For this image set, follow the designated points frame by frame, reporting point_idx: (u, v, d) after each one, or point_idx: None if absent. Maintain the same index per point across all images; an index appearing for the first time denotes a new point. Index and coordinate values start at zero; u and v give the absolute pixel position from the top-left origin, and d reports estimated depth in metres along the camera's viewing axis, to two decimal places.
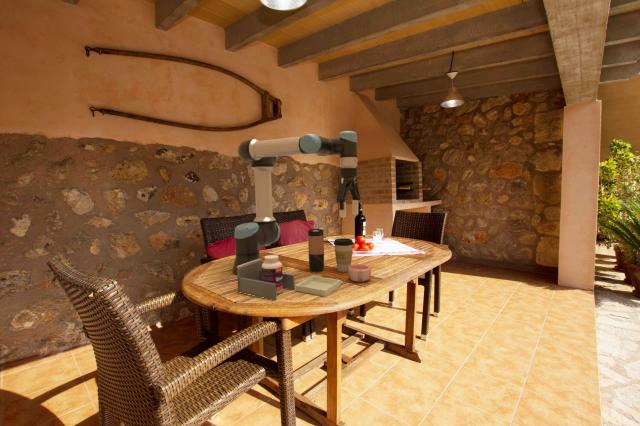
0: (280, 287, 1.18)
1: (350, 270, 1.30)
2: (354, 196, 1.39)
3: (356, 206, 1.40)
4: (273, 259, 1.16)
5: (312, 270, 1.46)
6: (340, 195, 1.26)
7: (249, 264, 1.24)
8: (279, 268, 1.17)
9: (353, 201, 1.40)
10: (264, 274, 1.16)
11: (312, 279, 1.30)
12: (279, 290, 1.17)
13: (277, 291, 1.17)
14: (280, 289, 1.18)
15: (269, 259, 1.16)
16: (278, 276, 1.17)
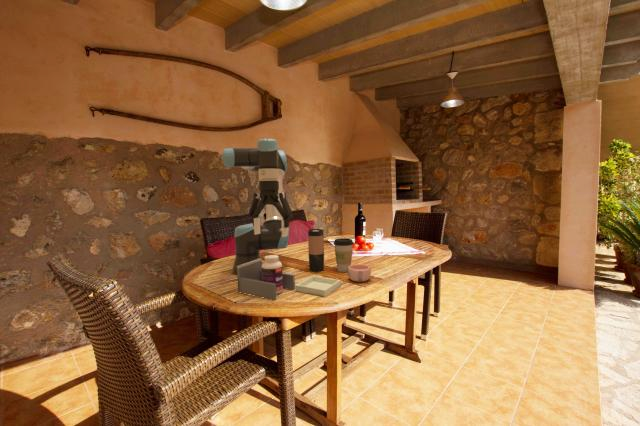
0: (280, 287, 1.18)
1: (350, 270, 1.30)
2: None
3: None
4: (273, 259, 1.16)
5: (312, 270, 1.46)
6: None
7: (249, 264, 1.24)
8: (279, 268, 1.17)
9: None
10: (264, 274, 1.16)
11: (312, 279, 1.30)
12: (279, 290, 1.17)
13: (277, 291, 1.17)
14: (280, 289, 1.18)
15: (269, 259, 1.16)
16: (278, 276, 1.17)
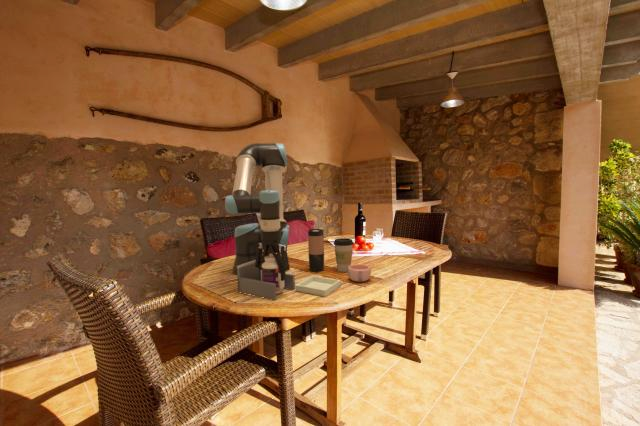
0: None
1: (350, 270, 1.30)
2: None
3: None
4: (273, 259, 1.16)
5: (312, 270, 1.46)
6: None
7: (249, 264, 1.24)
8: None
9: None
10: (264, 274, 1.16)
11: (312, 279, 1.30)
12: (279, 290, 1.17)
13: (277, 291, 1.17)
14: (280, 289, 1.18)
15: (269, 259, 1.16)
16: None
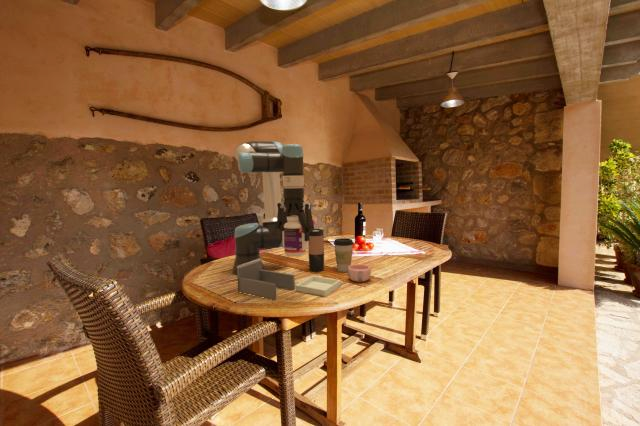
0: None
1: (350, 270, 1.30)
2: None
3: None
4: (296, 218, 1.09)
5: (312, 270, 1.46)
6: None
7: (249, 264, 1.24)
8: None
9: None
10: (287, 234, 1.09)
11: (312, 279, 1.30)
12: (302, 252, 1.10)
13: (300, 252, 1.10)
14: (303, 251, 1.11)
15: (292, 218, 1.09)
16: None
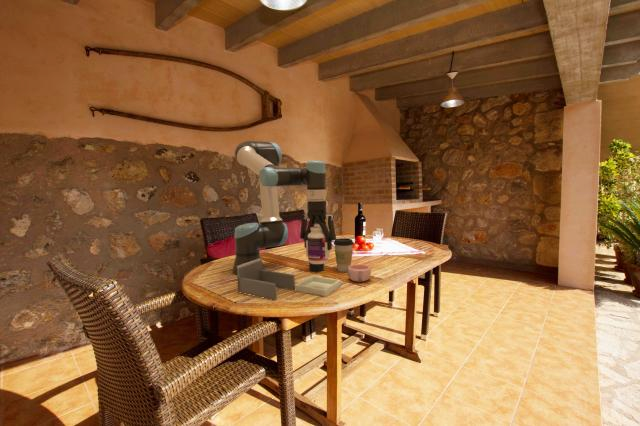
0: None
1: (350, 270, 1.30)
2: None
3: None
4: (320, 229, 1.18)
5: (312, 270, 1.46)
6: None
7: (249, 264, 1.24)
8: None
9: None
10: (311, 244, 1.18)
11: (312, 279, 1.30)
12: (325, 260, 1.19)
13: (323, 260, 1.18)
14: (326, 259, 1.20)
15: (316, 229, 1.18)
16: None
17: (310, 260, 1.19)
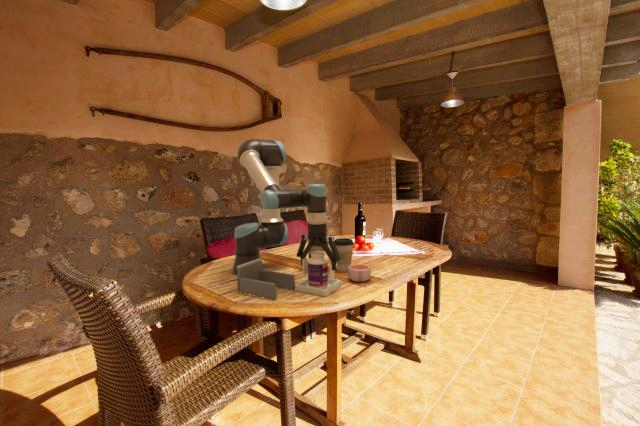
0: (326, 282, 1.21)
1: (350, 270, 1.30)
2: None
3: None
4: (320, 255, 1.19)
5: None
6: None
7: (249, 264, 1.24)
8: (326, 263, 1.20)
9: None
10: (311, 269, 1.19)
11: None
12: (325, 285, 1.20)
13: (323, 286, 1.20)
14: (326, 284, 1.21)
15: (316, 255, 1.19)
16: (325, 271, 1.20)
17: (310, 285, 1.20)
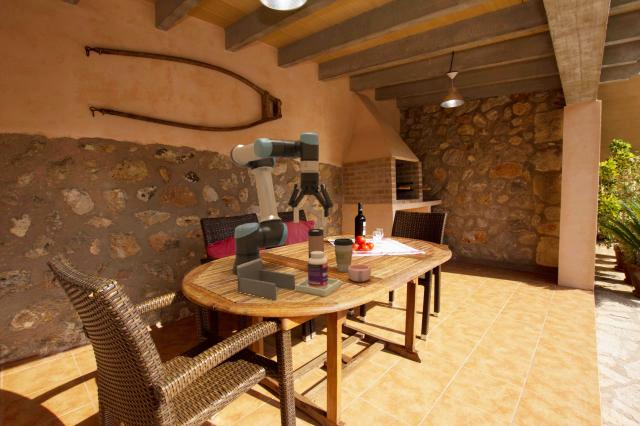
0: (326, 282, 1.21)
1: (350, 270, 1.30)
2: None
3: None
4: (320, 255, 1.19)
5: None
6: None
7: (249, 264, 1.24)
8: (326, 263, 1.20)
9: None
10: (311, 269, 1.19)
11: None
12: (325, 285, 1.20)
13: (323, 286, 1.20)
14: (326, 284, 1.21)
15: (316, 255, 1.19)
16: (325, 271, 1.20)
17: (310, 285, 1.20)
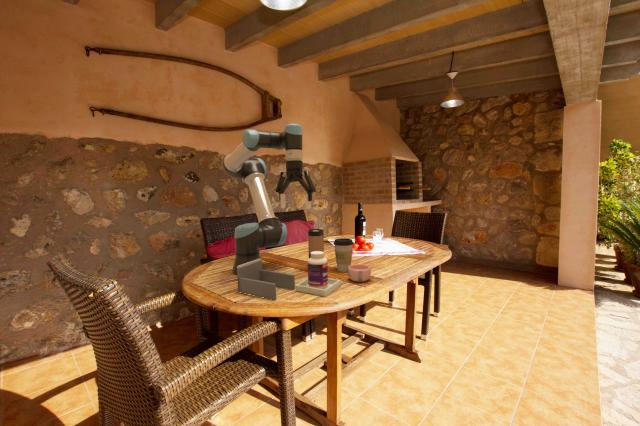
0: (326, 282, 1.21)
1: (350, 270, 1.30)
2: None
3: None
4: (320, 255, 1.19)
5: None
6: None
7: (249, 264, 1.24)
8: (326, 263, 1.20)
9: None
10: (311, 269, 1.19)
11: None
12: (325, 285, 1.20)
13: (323, 286, 1.20)
14: (326, 284, 1.21)
15: (316, 255, 1.19)
16: (325, 271, 1.20)
17: (310, 285, 1.20)
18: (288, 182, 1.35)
